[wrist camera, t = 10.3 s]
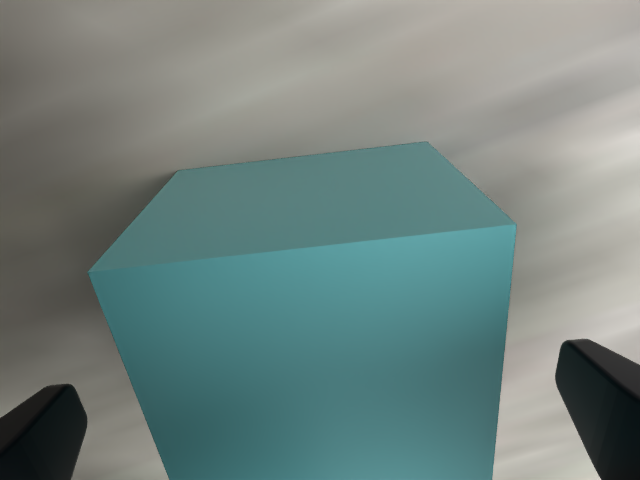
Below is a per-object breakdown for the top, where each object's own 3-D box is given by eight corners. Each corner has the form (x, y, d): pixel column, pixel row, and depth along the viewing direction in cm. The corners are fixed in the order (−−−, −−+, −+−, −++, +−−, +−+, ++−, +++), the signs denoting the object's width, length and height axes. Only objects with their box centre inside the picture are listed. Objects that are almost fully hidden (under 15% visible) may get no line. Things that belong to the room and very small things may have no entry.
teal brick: (426, 338, 13) (490, 500, 9) (228, 359, 13) (189, 530, 9) (425, 140, 11) (516, 224, 6) (179, 168, 11) (87, 272, 6)
